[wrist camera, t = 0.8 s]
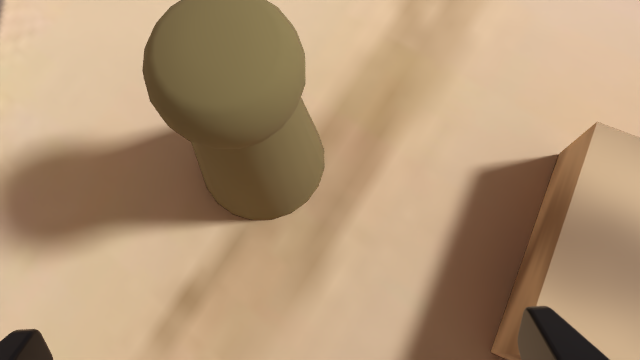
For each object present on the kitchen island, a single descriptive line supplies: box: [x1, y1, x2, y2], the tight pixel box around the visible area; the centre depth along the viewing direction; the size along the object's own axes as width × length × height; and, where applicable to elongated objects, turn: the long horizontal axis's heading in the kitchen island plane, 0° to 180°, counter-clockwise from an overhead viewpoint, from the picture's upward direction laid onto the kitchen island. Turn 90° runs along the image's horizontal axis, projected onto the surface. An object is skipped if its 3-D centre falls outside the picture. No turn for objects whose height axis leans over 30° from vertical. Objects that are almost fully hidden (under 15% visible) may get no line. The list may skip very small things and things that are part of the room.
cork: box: [143, 0, 324, 220], centre depth 21 cm, size 6×6×11 cm
